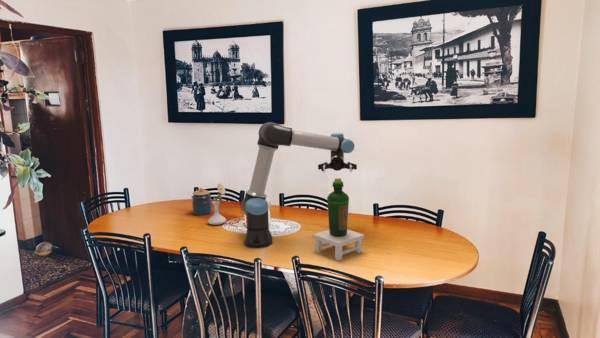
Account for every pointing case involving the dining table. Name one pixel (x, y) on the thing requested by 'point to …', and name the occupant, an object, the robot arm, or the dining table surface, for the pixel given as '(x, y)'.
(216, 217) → the flower in vase
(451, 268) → the dining table surface
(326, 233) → the stool
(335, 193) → the bottle
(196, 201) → the canister
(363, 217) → the dining table surface
